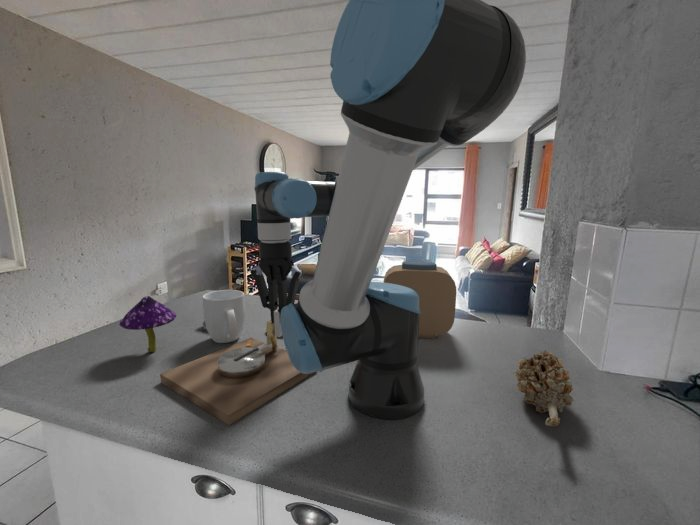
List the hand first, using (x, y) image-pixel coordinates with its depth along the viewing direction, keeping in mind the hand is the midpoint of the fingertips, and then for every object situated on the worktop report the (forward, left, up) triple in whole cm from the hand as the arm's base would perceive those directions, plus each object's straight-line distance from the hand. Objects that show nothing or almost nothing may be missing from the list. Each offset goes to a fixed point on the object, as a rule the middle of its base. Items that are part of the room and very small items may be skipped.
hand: (279, 334), depth 82 cm
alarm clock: (-21, -36, -6) cm, 42 cm away
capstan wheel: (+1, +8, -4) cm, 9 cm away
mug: (+20, +1, -6) cm, 21 cm away
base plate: (0, +11, -6) cm, 13 cm away
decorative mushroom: (+29, +17, -6) cm, 35 cm away
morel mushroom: (-57, -13, -6) cm, 59 cm away
